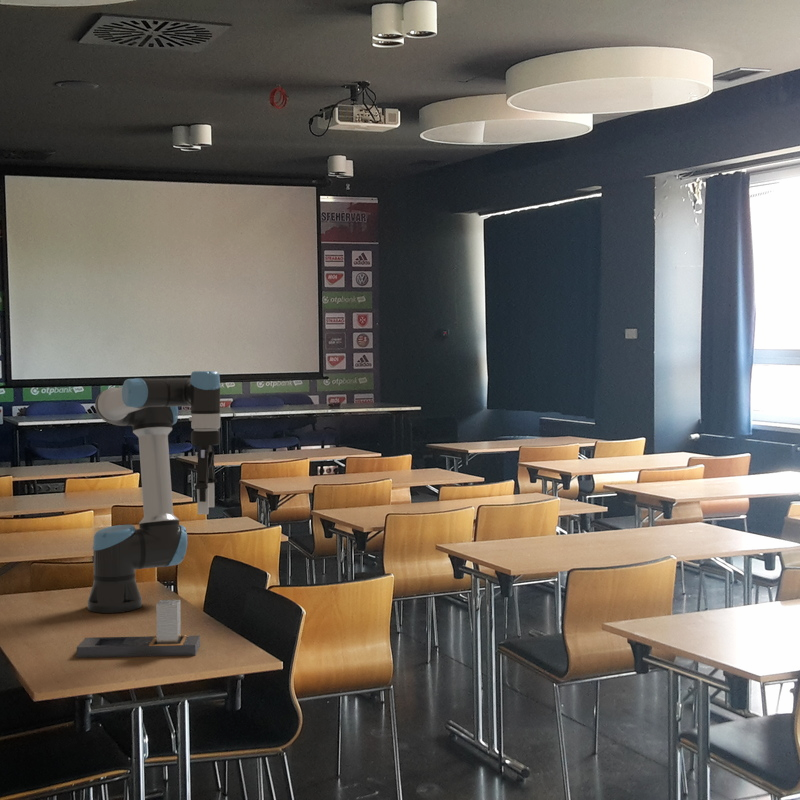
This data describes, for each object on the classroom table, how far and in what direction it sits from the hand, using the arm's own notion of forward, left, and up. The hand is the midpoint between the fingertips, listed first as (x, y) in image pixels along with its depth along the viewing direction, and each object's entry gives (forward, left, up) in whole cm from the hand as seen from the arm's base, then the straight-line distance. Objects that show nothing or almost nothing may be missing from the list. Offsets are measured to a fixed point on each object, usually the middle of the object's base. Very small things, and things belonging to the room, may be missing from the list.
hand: (206, 510), depth 271 cm
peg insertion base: (+19, -14, -32) cm, 40 cm away
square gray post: (+19, -7, -32) cm, 38 cm away
